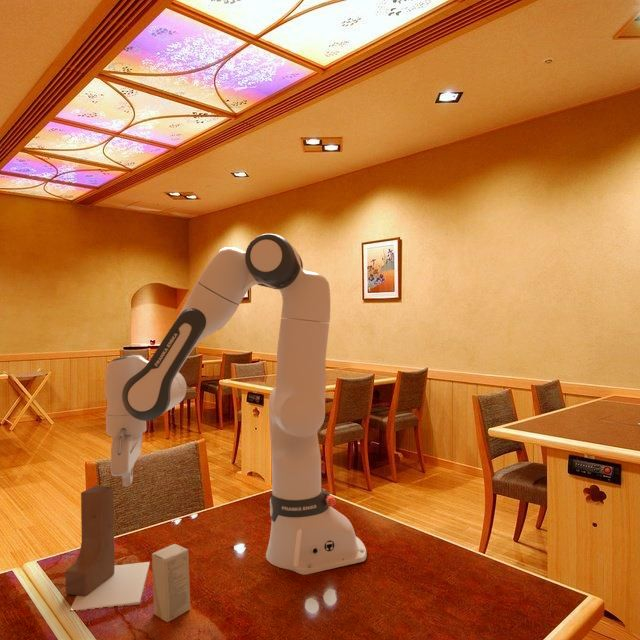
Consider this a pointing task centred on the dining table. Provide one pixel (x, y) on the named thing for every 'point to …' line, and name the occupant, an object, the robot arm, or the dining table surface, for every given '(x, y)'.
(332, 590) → the dining table surface
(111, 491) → the wooden block
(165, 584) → the box
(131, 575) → the mat
